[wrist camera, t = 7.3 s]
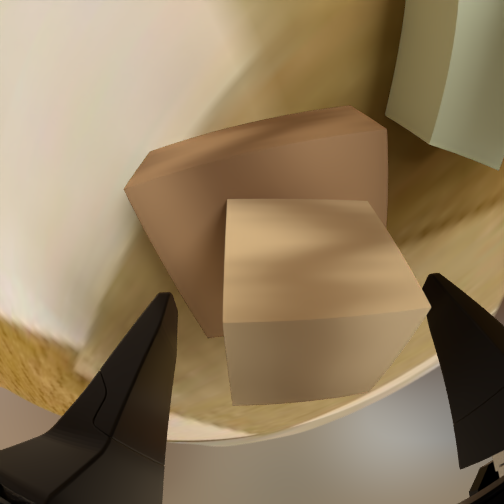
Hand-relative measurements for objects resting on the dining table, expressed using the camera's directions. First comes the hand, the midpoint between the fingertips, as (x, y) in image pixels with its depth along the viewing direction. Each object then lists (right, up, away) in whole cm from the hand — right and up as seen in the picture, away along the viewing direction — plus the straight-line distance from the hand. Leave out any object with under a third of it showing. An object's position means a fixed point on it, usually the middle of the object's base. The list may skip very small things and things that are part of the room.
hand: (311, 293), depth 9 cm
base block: (-1, +4, +5) cm, 6 cm away
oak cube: (0, +1, +2) cm, 2 cm away
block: (+7, +11, -1) cm, 13 cm away
